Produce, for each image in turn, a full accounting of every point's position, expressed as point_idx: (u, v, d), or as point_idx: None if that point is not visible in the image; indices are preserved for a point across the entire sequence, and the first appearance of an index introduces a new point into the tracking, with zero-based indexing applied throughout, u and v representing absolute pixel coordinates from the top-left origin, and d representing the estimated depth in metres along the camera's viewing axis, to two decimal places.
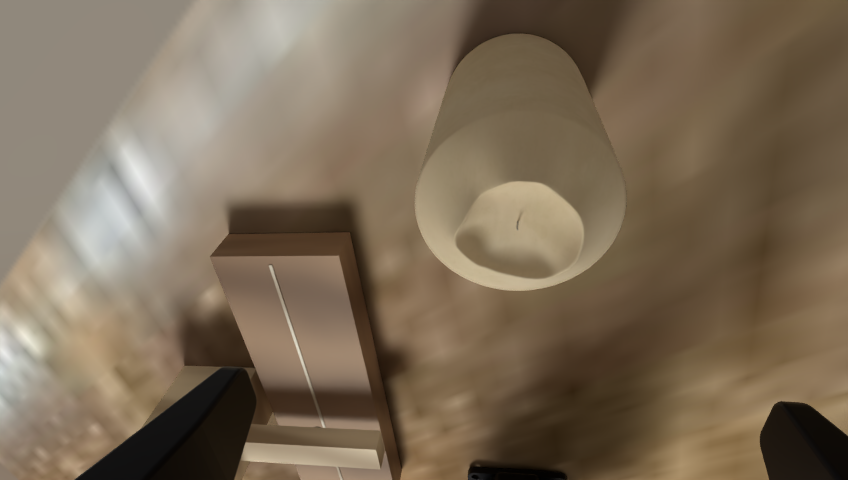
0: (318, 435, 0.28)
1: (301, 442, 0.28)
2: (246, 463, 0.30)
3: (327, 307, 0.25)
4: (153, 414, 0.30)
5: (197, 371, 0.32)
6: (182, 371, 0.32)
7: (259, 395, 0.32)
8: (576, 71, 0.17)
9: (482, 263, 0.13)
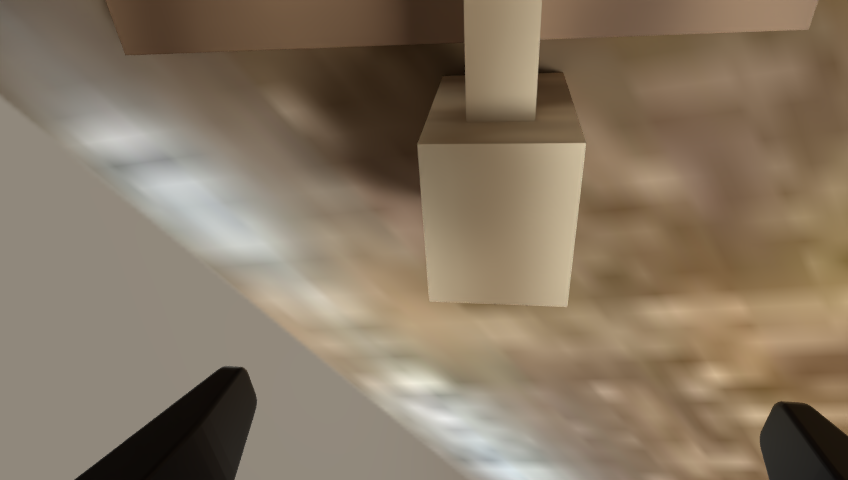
0: None
1: None
2: (564, 116, 0.13)
3: None
4: None
5: None
6: None
7: None
8: None
9: None
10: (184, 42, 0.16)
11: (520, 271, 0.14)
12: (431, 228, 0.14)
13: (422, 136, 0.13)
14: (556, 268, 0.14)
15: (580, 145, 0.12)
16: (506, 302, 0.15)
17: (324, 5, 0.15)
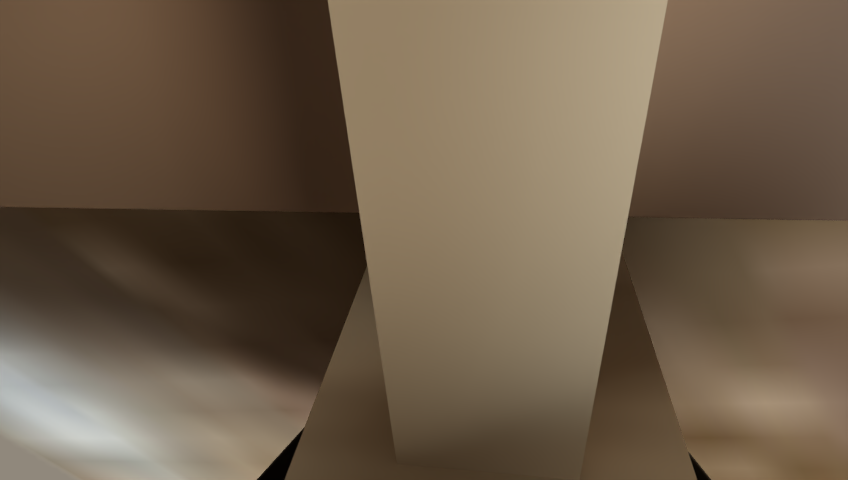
0: None
1: (339, 17, 0.03)
2: (657, 457, 0.05)
3: None
4: None
5: None
6: None
7: None
8: None
9: None
10: None
11: None
12: None
13: None
14: None
15: None
16: None
17: (81, 128, 0.06)
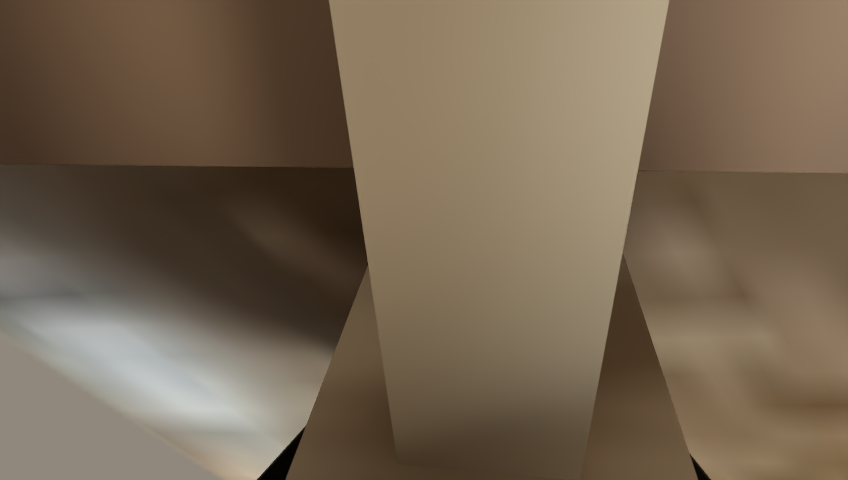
0: None
1: (341, 18, 0.03)
2: (657, 459, 0.05)
3: None
4: None
5: None
6: None
7: None
8: None
9: None
10: (50, 145, 0.08)
11: None
12: None
13: None
14: None
15: None
16: None
17: (335, 87, 0.07)
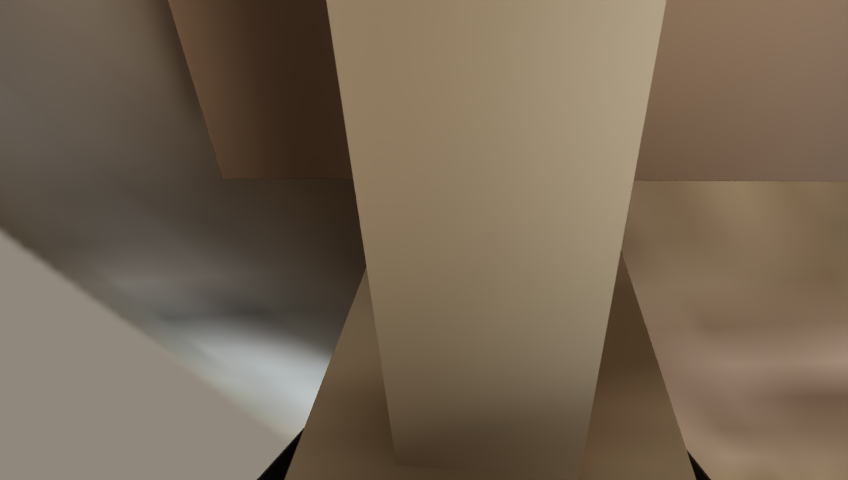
0: None
1: None
2: (656, 458, 0.05)
3: None
4: None
5: None
6: None
7: None
8: None
9: None
10: None
11: None
12: None
13: None
14: None
15: None
16: None
17: (737, 92, 0.06)
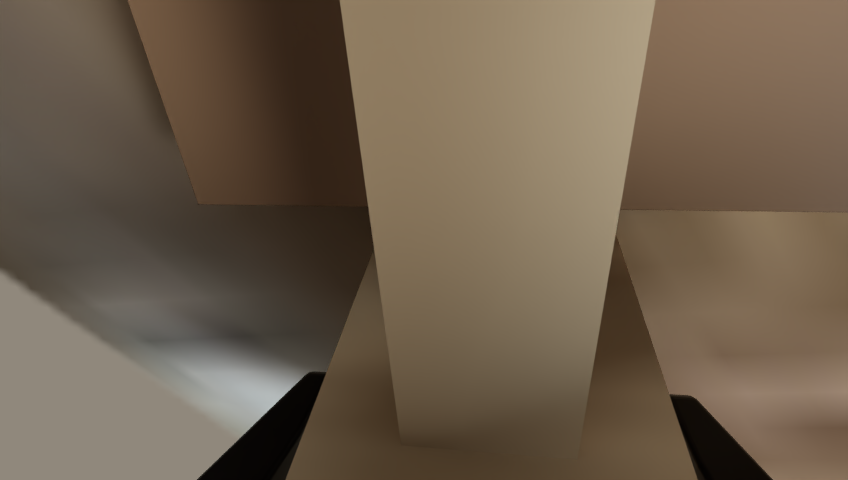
0: None
1: (349, 12, 0.03)
2: (651, 438, 0.05)
3: None
4: None
5: None
6: None
7: None
8: None
9: None
10: (347, 184, 0.07)
11: None
12: None
13: None
14: None
15: None
16: None
17: (768, 115, 0.05)
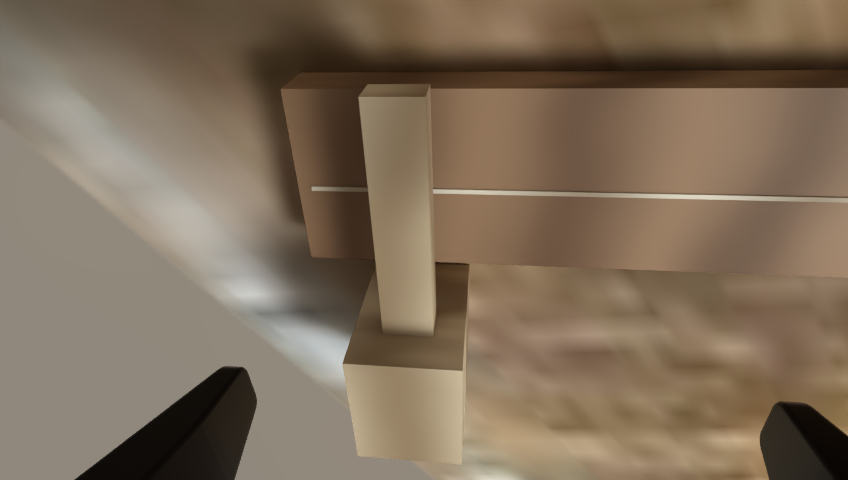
0: None
1: None
2: (456, 332, 0.18)
3: None
4: None
5: None
6: None
7: None
8: None
9: None
10: (365, 252, 0.19)
11: (424, 441, 0.19)
12: (356, 412, 0.18)
13: (347, 353, 0.17)
14: (451, 441, 0.19)
15: (458, 372, 0.17)
16: (416, 459, 0.19)
17: (492, 237, 0.18)
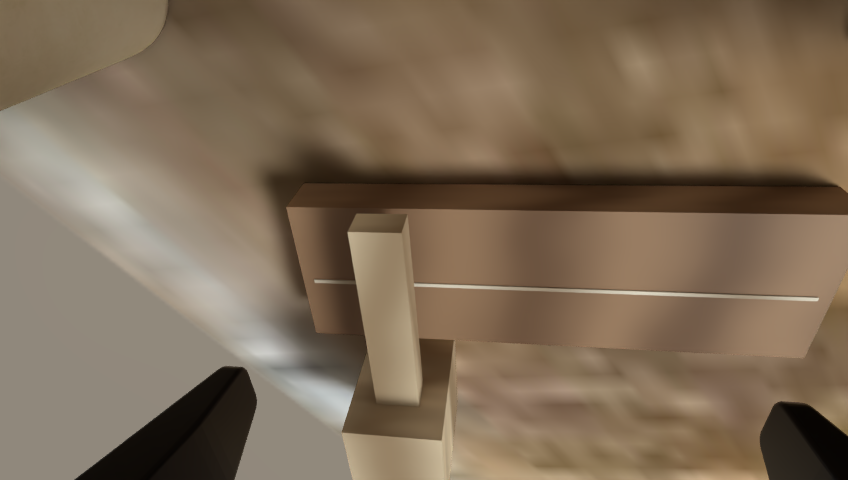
0: None
1: None
2: (438, 402, 0.21)
3: None
4: None
5: None
6: None
7: None
8: None
9: None
10: (362, 330, 0.22)
11: None
12: (355, 469, 0.21)
13: (345, 422, 0.21)
14: None
15: (438, 441, 0.20)
16: None
17: (469, 320, 0.21)
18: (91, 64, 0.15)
